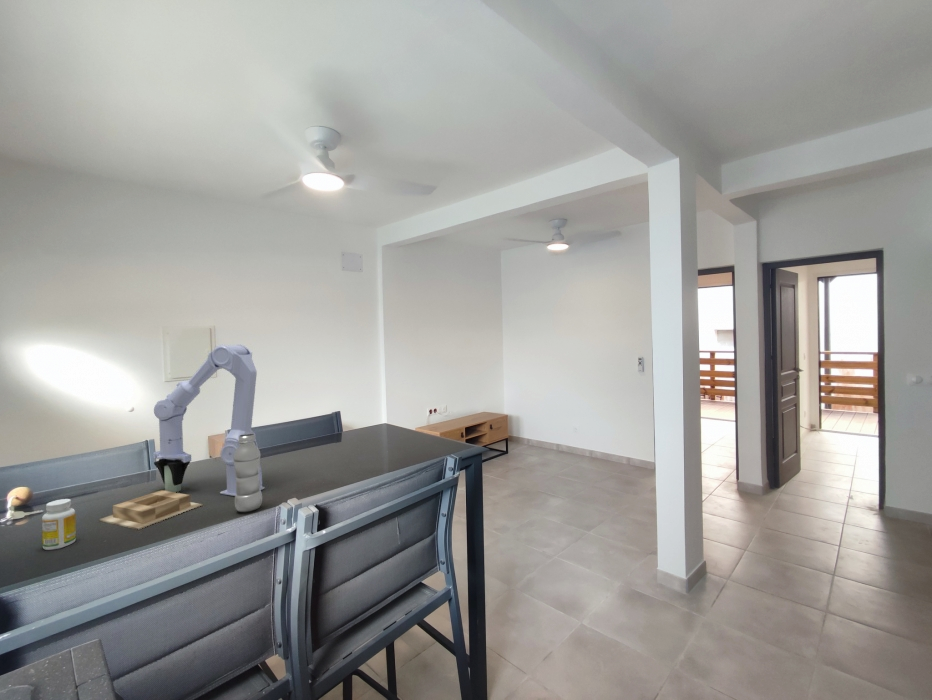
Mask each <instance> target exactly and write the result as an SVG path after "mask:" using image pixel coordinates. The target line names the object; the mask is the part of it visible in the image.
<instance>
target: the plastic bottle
mask: <svg viewBox="0 0 932 700" xmlns="http://www.w3.org/2000/svg"><path fill="white" fill-rule="evenodd" d="M254 441H255V439H254V434H243V435H239V441H238V443H240V445H239V447H238V448H237V449H236V451H235V453H234V455H233V460H234V465H235V470H236V477H237V478H236V480H237V484H236V495H235V496H234V507H235V509H236V510H237V511H238V513H239V512H240V513H248V512H252V511H254V510H257V509H259V508H260V507H261V505H263V504H262V503H263V494H262V490H260V483H259V465H261V464H260V463H261V451H260V449H259V448H257V446H256V445H255V444H254Z"/></svg>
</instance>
